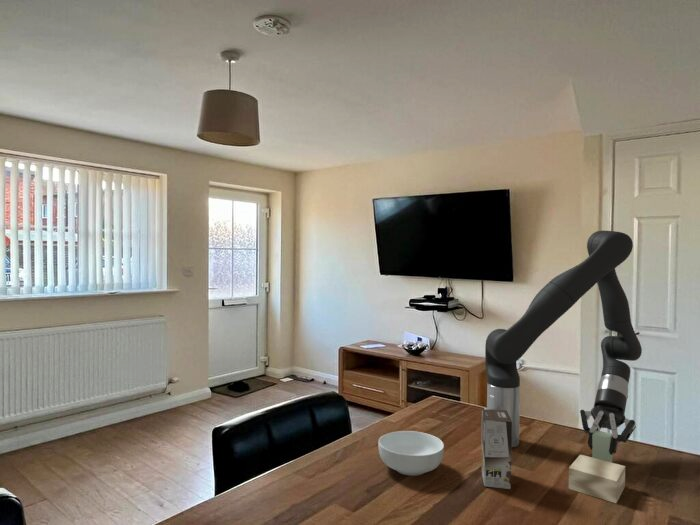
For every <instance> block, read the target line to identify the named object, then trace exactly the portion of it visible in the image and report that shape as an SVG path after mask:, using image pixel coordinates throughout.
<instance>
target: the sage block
mask: <svg viewBox="0 0 700 525" xmlns="http://www.w3.org/2000/svg"><path fill="white" fill-rule="evenodd" d="M611 438H612V433H609V432H606V431H601V430H600V431H597V430H596V431H595V432H594V433H593V434H592V445H593V448H592V451H591V457H592V458H596V459H600V460H604V461H607V462H611V463H613V455H611V454H610V453H609V448H610V442H611Z"/></svg>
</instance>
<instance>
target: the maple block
mask: <svg viewBox="0 0 700 525" xmlns="http://www.w3.org/2000/svg"><path fill="white" fill-rule="evenodd" d="M625 488H626V465H622V464H619V463H614V462H612V463H611V462H607V461H604V460H600V459H596V458H592V456H588V455H585V454H579V455H578V456H577V458H576V459H575V460H573V462H572V464H571V465H569V467H568V490H571V491H575V492H579V493H581V494H584V495H587V496H591V497H594V498H598V499H601V500H604V501H607V502H610V503H614V504H617V503H618V501H619V499H620V497H621V495H622V494H623V492H624V490H625Z"/></svg>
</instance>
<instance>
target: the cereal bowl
mask: <svg viewBox="0 0 700 525" xmlns="http://www.w3.org/2000/svg"><path fill="white" fill-rule="evenodd" d="M377 441H378V443H377V445H378V446H377V448H378V453H379V456H380V459H381V461H383V463H384V464H385V465H386V466H387V467H389V468H390V469H392V470H395V471H396V472H398V473H399V474H401V475H405V476H412V477H415V476H422V475H423V474H426V473H429V472H431V471H433V470H435V469H436V468H437V467H438V466H440V464H441V463H442V462H443V458H444V455H445V444H444V441H442V440H441V439H440V438H439V437H437V436H434V435H433V434H429V433H426V432H421V431H416V430H399V431H398V430H397V431H392V432H388V433H386V434H383V435H382V436H380V437H379V439H378V440H377Z"/></svg>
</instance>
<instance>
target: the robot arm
mask: <svg viewBox="0 0 700 525" xmlns="http://www.w3.org/2000/svg"><path fill="white" fill-rule="evenodd" d="M586 242H587V243H586V250H587V253H588V256H587V258H586V259H584V260H583V261H582V262H580V263H579V264H577V265H574V266H573V267H572V268H569V269H567V270H565V271H564V272H562V273H560V274H558V275H556V276H554V277H553V278H552V279H551V280H549V282H547V284H546V285H544V286H543V288H541V289H540V290H539V291H538V292H537V294H536V295H535V296H534V297H533V299H532V300H531V302H530V304H529V305H528V307H527V309H526V311H525V313H524V314H523V315H522V316H521V317H520V318H519V319H518V320H517V321H516V322H515V323H514V324H512V326H510V327H508V329H505V328H497V329H494V330H492V331H491V332H490V333H489V334H488V335H487V337H486V339H485V344H484V345H485V347H484V348H485V350H484V351H485V352H484V353H485V355H484V356H485V358H484V360H485V361H484V362H485V372H486V384H487V386H486V393H487V394H486V407H485V408H484V409H489V410H490V409H494V410H507V412H508V414H509V416H510V418H511V420H512V447H511V448H514V447H518V446H519V444H520V411H521V410H520V409H521V408H520V404H521V403H520V400H521V399H520V398H521V397H520V395H521V392H520V390H521V389H520V388H521V387H520V386H521V385H520V383H521V377H520V375H519V371H518V367H517V366H518V365H517V361H519V360H520V359H521V358H522V357H523V356H524V354H526V352H528V350H529V349H530V348H531V347H532V345H533V344H534V342H536V340H537V339H538V338H539V337H540V336H541V335H542V334H543V333H544V332H545V331H546V330H548V329H549V328H550V327H551V326H552V325H554V324H555V322H556V321H558V320H559V319H560V318H561V317H562V316H564V314H566V312H568V311H569V310H570V309H571V308H572V307H573V306H574V305H575V304H576V303H577V302H578V301H579V300H580V299H581V298H582V297H583V296H585V295H586V293H587V292H589V291H590V289H592V288H593V287H594V286H595V285H596V284H597V286H598V291H599V296H600V300H601V308H602V316H603V323H604V327H605V328H606V329H607V330H608V331H610V332H611V331H612V332H616V333H618V334H620V336H618V335H608V336H607V335H606V336H605V337H604V338H603V339H602V340H601V342H600V348H601V350H600V351H601V354H602V370H601V376H600V380H599V382H598V385H597V389H596V395H595V398H594V404H593V407H592V408H591V410H587V411H585V410H584V409H580V411H579V412H580V418H581V424H582V428H583V432H584V433H585V434H587V435H588V439H587V445H588V447H589V448H590V449H589V450H592V448H593V445H592V434H593V433H594V432H595V431H596V430H597V431H601V430H602V429H608V430H611V434H612V438H611V442H610V448H609V453H610V454H611V455H612V456H613V455H614V454H616V453H617V450H618V444H619V443H620V442H622V443H627V442H628V440H629V439H630V437H631V435H632V434H633V432H634V431H635V429H636V428H637V425H636V422H635V420H634V419H629V418H626V415H625V412H626V407H627V402H628V397H629V382H630V378H631V377H630V376H631V367H630V365H628V364H627V363H626V362H623V361H631V362H632V361H633V362H634V361H637V360H639V359H640V358H641V356H642V352H643V350H642V348H643V347H642V345H641V343H640V340H639V338H638V336H637V334H636V331H635V330H634V327H633V324H632V319H631V312H630V304H629V300H628V297H627V295H626V292H625V291H624V289H623V287H622V286H623V285H622V284H621V282H620V280H619V277H618V275H617V272H616V268H617V267H618V266H620V265H621V264H622V263H623V262H625V261H626V260H627V259H628V257H629V256H630V255H631V254H632V252H633V247H634V243H633V240H632V238H631V236H629V235H628V234H627V233H626V232H625V233H624V232H621V231H614V230H597V231H595V232H593V233H592V234H591V235H590V236H589V237H588V238H587V241H586ZM621 335H622V336H621ZM590 417H592V418H593V422H592V425H591V427H589V422H588V420H590ZM623 424H624V425H625V427H624V429H623V431H622V432H621V434H619V433H618V428H619V427H620V426H622V425H623Z"/></svg>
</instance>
